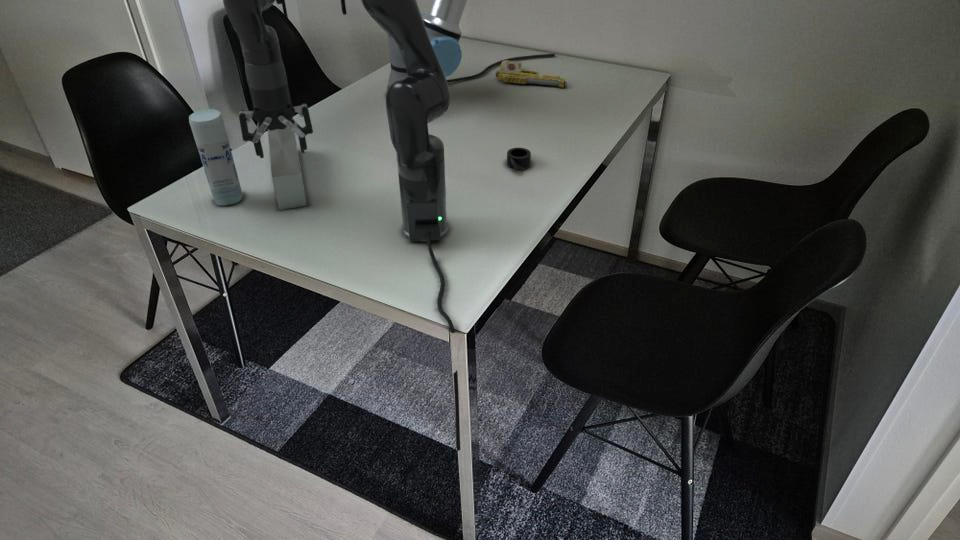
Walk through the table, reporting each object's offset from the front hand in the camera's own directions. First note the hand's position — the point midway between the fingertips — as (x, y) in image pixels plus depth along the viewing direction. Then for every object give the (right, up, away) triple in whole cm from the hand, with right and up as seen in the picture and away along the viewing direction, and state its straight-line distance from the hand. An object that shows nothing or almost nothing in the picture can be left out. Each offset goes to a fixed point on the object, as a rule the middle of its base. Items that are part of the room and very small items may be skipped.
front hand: (282, 153), depth 136 cm
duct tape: (+52, +1, +20) cm, 56 cm away
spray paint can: (-14, -9, +7) cm, 18 cm away
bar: (-3, -3, +14) cm, 15 cm away
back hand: (+4, +35, +14) cm, 38 cm away
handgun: (+59, +36, +65) cm, 95 cm away
